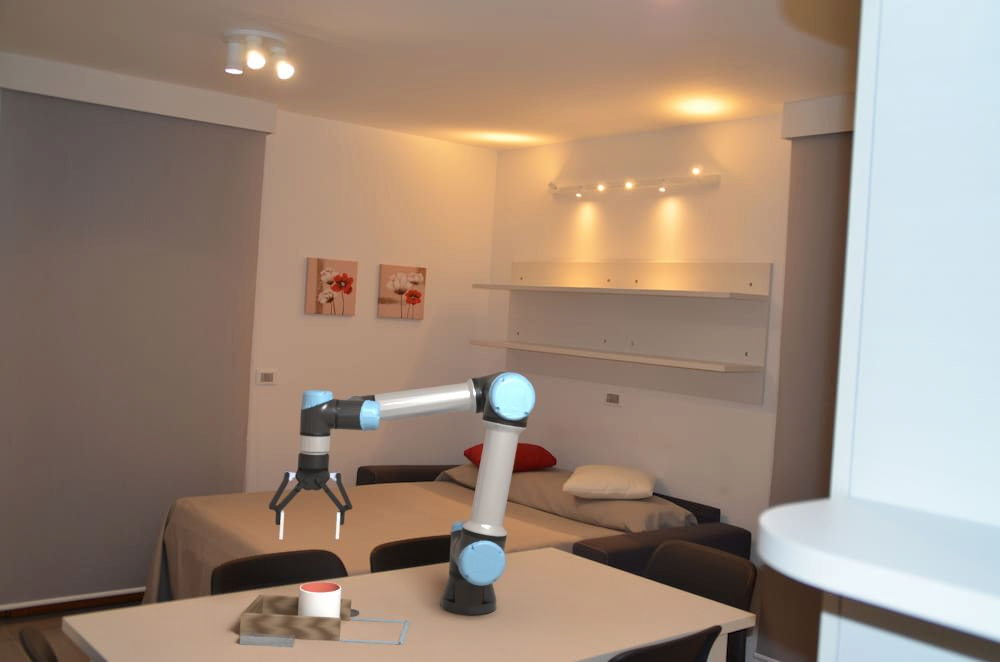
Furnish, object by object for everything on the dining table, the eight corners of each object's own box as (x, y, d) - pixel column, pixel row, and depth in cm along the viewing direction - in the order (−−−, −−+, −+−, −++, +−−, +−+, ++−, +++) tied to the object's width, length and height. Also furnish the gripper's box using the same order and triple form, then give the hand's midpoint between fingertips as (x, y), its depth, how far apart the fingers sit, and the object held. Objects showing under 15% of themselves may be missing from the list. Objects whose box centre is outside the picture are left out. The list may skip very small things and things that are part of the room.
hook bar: (296, 641, 201) (296, 632, 201) (292, 647, 197) (292, 638, 197) (244, 638, 201) (245, 629, 201) (239, 644, 197) (240, 635, 197)
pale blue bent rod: (409, 621, 220) (409, 620, 220) (402, 644, 203) (402, 643, 203) (352, 618, 220) (352, 617, 220) (340, 641, 203) (340, 640, 203)
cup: (329, 637, 205) (331, 594, 206) (290, 632, 207) (292, 590, 208) (345, 624, 215) (347, 584, 215) (307, 620, 217) (309, 579, 217)
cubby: (350, 619, 219) (351, 599, 220) (338, 640, 203) (339, 619, 203) (258, 614, 219) (259, 594, 219) (239, 635, 203) (241, 614, 203)
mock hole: (360, 610, 227) (361, 609, 227) (357, 617, 221) (357, 616, 221) (338, 609, 227) (338, 608, 227) (333, 616, 221) (333, 615, 221)
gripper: (362, 451, 222) (358, 534, 222) (262, 449, 216) (257, 534, 215) (366, 455, 215) (361, 541, 215) (262, 453, 209) (256, 541, 208)
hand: (309, 538), depth 215 cm, fingers open, 13 cm apart
